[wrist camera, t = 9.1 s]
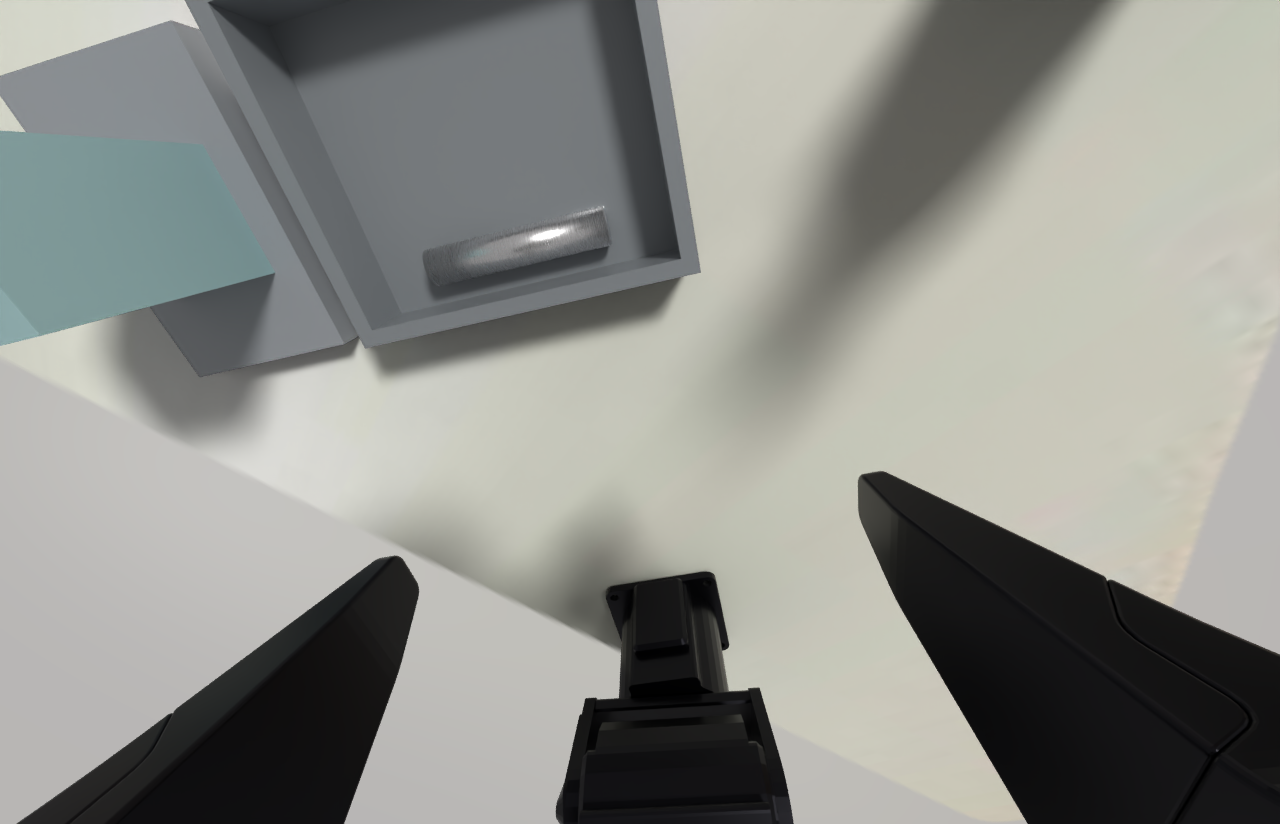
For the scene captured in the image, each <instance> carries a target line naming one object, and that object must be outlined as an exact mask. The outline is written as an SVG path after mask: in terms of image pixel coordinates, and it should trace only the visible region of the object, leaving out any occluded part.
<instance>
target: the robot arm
mask: <svg viewBox="0 0 1280 824" xmlns="http://www.w3.org/2000/svg"><path fill="white" fill-rule="evenodd" d="M858 511H859V517H860V520H861V523H862V525H863V528H864V530H865V532H866V534H867V537H868V539H869V541H870V543H871V546H872V548H873V550H874V552H875V554H876V557H877V559H878V561H879V563H880V566H881V568H882V570H883V572H884V575H885V577H886V579H887V581H888V584H889V586H890V588H891V590H892V592H893V594H894V596H895V599H896V600H897V602H898V604H899V606H900V608H901V609H902V611H903V613H904V615H905V616H906V618H907V620H908V621H909V623H910V625H911V627H912V628H913V630H914V632H915V633H916V635H917V637H918V638H919V640H920V642H921V644H922V645H923V647H924V649H925V650H926V652H927V654H928V655H929V657H930V659H931V660H932V662H933V664H934V666H935V667H936V669H937V671H938V672H939V674H940V676H941V677H942V679H943V681H944V683H945V684H946V686H947V688H948V689H949V691H950V693H951V694H952V696H953V698H954V700H955V701H956V703H957V705H958V706H959V708H960V710H961V711H962V713H963V715H964V717H965V718H966V720H967V722H968V723H969V725H970V727H971V728H972V730H973V732H974V734H975V735H976V737H977V739H978V740H979V742H980V744H981V745H982V747H983V749H984V750H985V752H986V754H987V756H988V757H989V759H990V761H991V762H992V764H993V766H994V767H995V769H996V771H997V773H998V774H999V776H1000V778H1001V779H1002V781H1003V783H1004V784H1005V786H1006V788H1007V790H1008V791H1009V793H1010V795H1011V796H1012V798H1013V800H1014V801H1015V803H1016V805H1017V807H1018V808H1019V810H1020V812H1021V813H1022V815H1023V817H1024V818H1025V820H1026V822H1027V823H1028V824H1280V654H1277V653H1275V652H1272V651H1270V650H1268V649H1265V648H1263V647H1260V646H1258V645H1256V644H1254V643H1251V642H1249V641H1246V640H1244V639H1242V638H1240V637H1237V636H1235V635H1232V634H1230V633H1228V632H1225V631H1223V630H1221V629H1219V628H1216V627H1213V626H1212V625H1209V624H1207V623H1204V622H1202V621H1200V620H1198V619H1196V618H1193V617H1191V616H1189V615H1187V614H1185V613H1182V612H1180V611H1178V610H1176V609H1174V608H1172V607H1169V606H1167V605H1165V604H1163V603H1161V602H1159V601H1156V600H1154V599H1152V598H1150V597H1148V596H1145V595H1143V594H1141V593H1139V592H1137V591H1135V590H1133V589H1131V588H1129V587H1127V586H1124V585H1122V584H1120V583H1118V582H1116V581H1114V580H1108V581H1107V580H1106V578H1105V577H1104V576H1103V575H1101V574H1099V573H1097V572H1095V571H1093V570H1090V569H1088V568H1086V567H1084V566H1082V565H1080V564H1078V563H1076V562H1074V561H1072V560H1069V559H1067V558H1065V557H1063V556H1061V555H1059V554H1057V553H1055V552H1053V551H1051V550H1048V549H1046V548H1044V547H1042V546H1040V545H1038V544H1036V543H1034V542H1032V541H1030V540H1027V539H1025V538H1023V537H1021V536H1019V535H1017V534H1015V533H1013V532H1011V531H1009V530H1006V529H1004V528H1002V527H1000V526H998V525H996V524H994V523H992V522H990V521H988V520H985V519H983V518H981V517H979V516H977V515H975V514H973V513H971V512H969V511H967V510H964V509H962V508H960V507H958V506H956V505H954V504H952V503H950V502H948V501H946V500H943V499H941V498H939V497H937V496H935V495H933V494H931V493H929V492H927V491H925V490H922V489H920V488H918V487H916V486H914V485H912V484H910V483H908V482H906V481H904V480H901V479H899V478H897V477H895V476H893V475H891V474H889V473H887V472H884V471H878V472H872V473H867V474H862V475H861V476H860V477H859V479H858ZM706 580H709V581H706ZM418 596H419V587H418V583H417V581H416V580H415V578H414V576H413V575H412V573H411V572H410V570H409V568H408V567H407V565H406V564H405V562H404V560H403V559H402V558H401V557H399V556H389V557H384V558H379V559H377V560H375V561H374V562H372V563H371V564H370V565H368V566H367V567H365V568H364V569H363V570H361V571H360V572H359V573H357V574H356V575H355V576H353V577H352V578H351V579H349V580H348V581H347V582H345V583H344V584H343V585H341V586H340V587H339V588H337V589H336V590H335V591H333V592H332V593H331V594H329V595H328V596H327V597H325V598H324V599H323V600H321V601H320V602H319V603H318V604H316V605H315V606H313V607H312V608H311V609H309V610H308V611H307V612H305V613H304V614H303V615H301V616H300V617H299V618H297V619H296V620H294V621H293V622H292V623H290V624H289V625H288V626H286V627H285V628H284V629H282V630H281V631H280V632H278V633H277V634H276V635H274V636H273V637H272V638H270V639H269V640H268V641H266V642H265V643H264V644H262V645H261V646H260V647H258V648H257V649H256V650H254V651H253V652H252V653H250V654H249V655H248V656H246V657H245V658H244V659H243V660H241V661H240V662H238V663H237V664H236V665H234V666H233V667H231V669H229V670H228V671H226V672H225V673H224V674H222V675H221V676H219V677H218V678H217V679H215V680H214V681H213V682H211V683H210V684H209V685H208V686H206V687H205V688H203V689H202V690H201V691H199V692H198V693H197V694H195V695H194V696H193V697H191V698H190V699H189V700H187V701H186V702H185V703H183V704H182V705H181V706H179V707H178V708H177V709H176V710H175V711H174V713H171V714H168V715H167V716H166V717H164V718H163V719H162V720H160V721H159V722H158V723H156V724H155V725H154V726H152V727H151V728H150V729H148V730H147V731H146V732H145V733H143V734H142V735H140V736H139V737H137V738H136V739H135V740H133V741H132V742H131V743H129V744H128V745H127V746H125V747H124V748H122V749H121V750H120V751H118V752H117V753H116V754H114V755H113V756H112V757H110V758H109V759H108V760H106V761H105V762H104V763H102V764H101V765H99V766H98V767H96V768H95V769H94V770H92V771H91V772H89V773H88V774H87V775H85V776H84V777H82V778H81V779H79V780H78V781H77V782H76V783H74V784H72V785H71V786H70V787H68V788H67V789H65V790H64V791H63V792H61V793H60V794H58V795H57V796H55V797H54V798H53V799H51V800H50V801H48V802H47V803H45V804H44V805H43V806H41V807H40V808H38V809H37V810H35V811H34V812H33V813H31V814H30V815H28V816H27V817H25V818H24V819H22V820H21V821H20V822H18V823H17V824H344V822H345V820H346V817H347V814H348V811H349V809H350V806H351V803H352V800H353V797H354V795H355V792H356V789H357V786H358V784H359V781H360V778H361V775H362V773H363V770H364V767H365V764H366V761H367V758H368V756H369V753H370V750H371V747H372V745H373V742H374V739H375V736H376V734H377V731H378V728H379V725H380V723H381V720H382V717H383V714H384V712H385V709H386V706H387V703H388V700H389V698H390V695H391V692H392V689H393V687H394V684H395V681H396V678H397V675H398V672H399V669H400V665H401V662H402V658H403V654H404V650H405V646H406V643H407V639H408V635H409V631H410V627H411V623H412V620H413V616H414V612H415V608H416V604H417V600H418ZM606 600H607V603H608V605H609V608H610V611H611V614H612V616H613V619H614V622H615V625H616V627H617V630H618V633H619V635H620V638H621V641H622V647H621V668H620V689H619V691H620V692H619V698H618V699H617V698H616V699H600V700H597V698H586V699H585V703H584V707H583V712H582V714H581V715H580V716H579V720H578V724H577V729H576V734H575V738H574V742H573V747H572V751H571V756H570V760H569V765H568V769H567V773H566V778H565V783H564V785H563V788H562V791H561V793H560V795H559V798H558V801H557V805H556V818H557V820H558V822H559V823H560V824H794V823H793V817H792V810H791V805H790V799H789V794H788V789H787V784H786V779H785V775H784V771H783V767H782V763H781V760H780V756H779V753H778V750H777V746H776V743H775V739H774V736H773V732H772V729H771V725H770V722H769V719H768V715H767V712H766V708H765V705H764V702H763V698H762V695H761V692H760V688H748V690H745V691H729V690H728V684H727V678H726V672H725V666H724V660H723V654H722V651H723V650H726V649H727V648H728V647H729V641H728V636H727V631H726V626H725V622H724V617H723V612H722V607H721V602H720V598H719V593H718V588H717V583H716V578H715V575H714V574H713V573H711V572H702V573H695V574H689V575H683V576H676V577H670V578H664V579H657V580H651V581H644V582H638V583H632V584H625V585H619V586H613V587H610V588H608V589H607V592H606Z"/></svg>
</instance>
